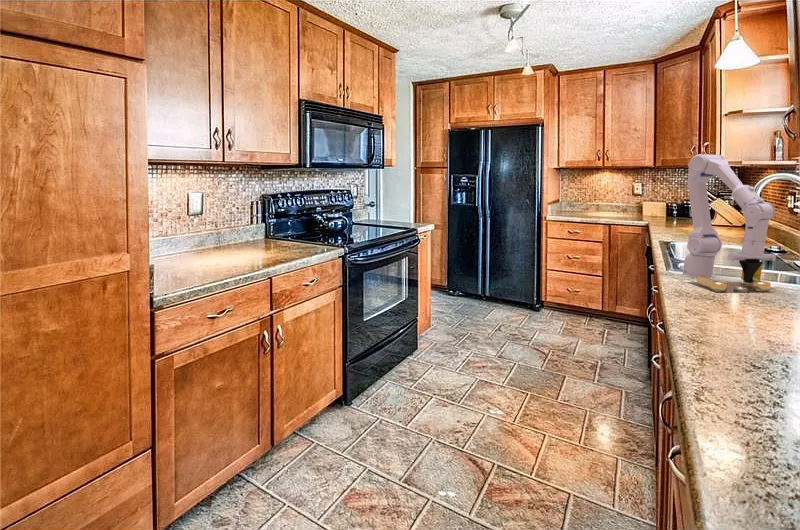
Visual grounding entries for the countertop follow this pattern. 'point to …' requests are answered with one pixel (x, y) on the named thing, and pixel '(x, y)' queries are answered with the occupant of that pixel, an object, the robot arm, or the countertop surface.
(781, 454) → the countertop surface
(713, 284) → the knob
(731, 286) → the grey metal plate
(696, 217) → the robot arm
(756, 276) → the supplement bottle
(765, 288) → the knob
